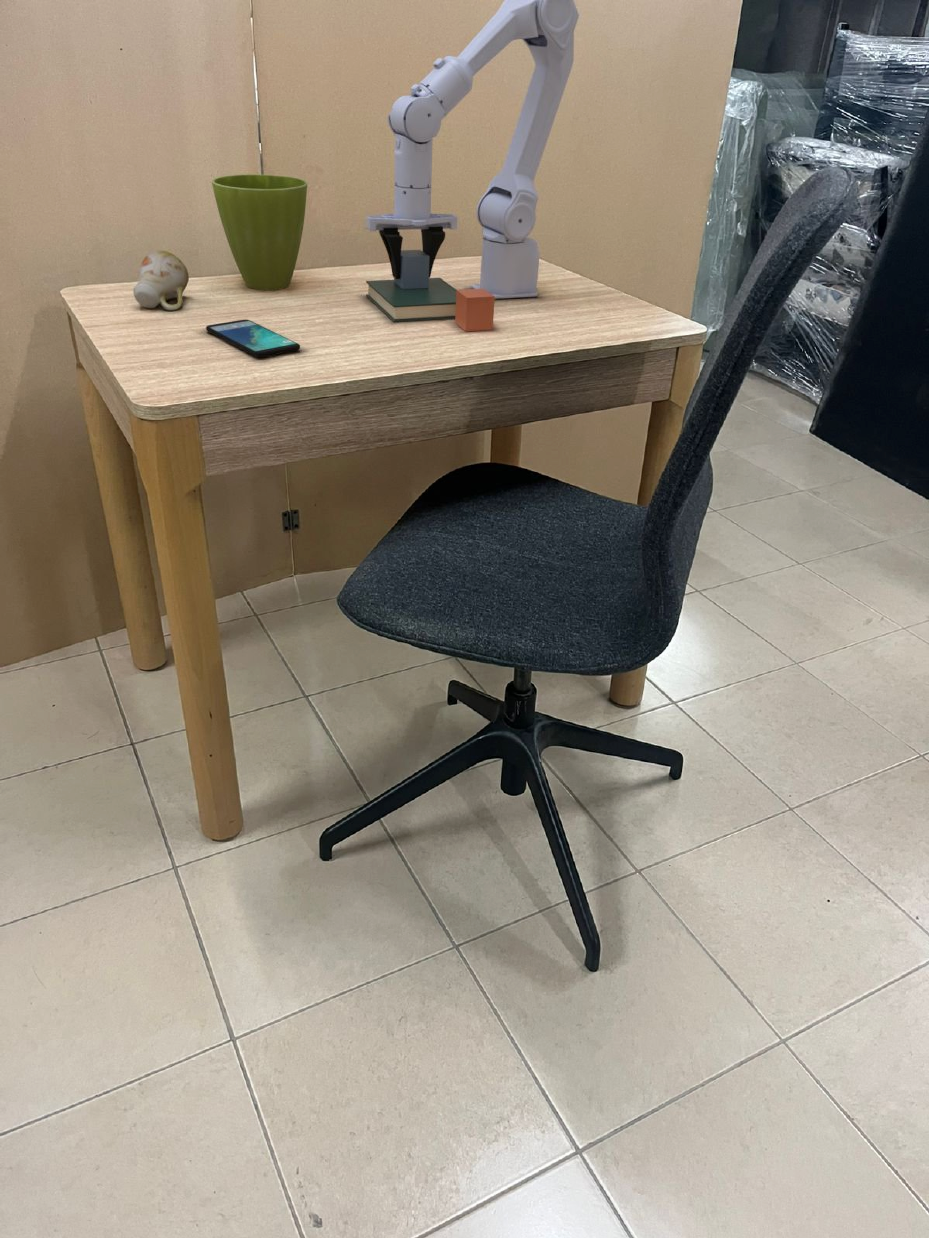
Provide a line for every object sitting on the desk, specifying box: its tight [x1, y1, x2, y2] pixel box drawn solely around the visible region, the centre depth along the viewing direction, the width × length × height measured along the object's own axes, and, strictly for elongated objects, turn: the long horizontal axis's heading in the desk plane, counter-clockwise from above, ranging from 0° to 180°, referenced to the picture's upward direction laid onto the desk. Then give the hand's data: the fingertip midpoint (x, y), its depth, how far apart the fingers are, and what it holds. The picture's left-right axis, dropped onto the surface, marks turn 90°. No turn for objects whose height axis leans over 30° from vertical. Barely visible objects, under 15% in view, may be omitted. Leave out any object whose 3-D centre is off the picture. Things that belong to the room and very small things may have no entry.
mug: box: [132, 250, 190, 311], centre depth 140 cm, size 8×10×10 cm
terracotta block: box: [454, 288, 496, 332], centre depth 138 cm, size 4×4×5 cm
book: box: [365, 277, 457, 323], centre depth 146 cm, size 13×15×2 cm
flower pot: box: [211, 173, 308, 291], centre depth 149 cm, size 15×15×16 cm
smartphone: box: [205, 319, 301, 358], centre depth 127 cm, size 7×1×15 cm
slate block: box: [393, 249, 429, 289], centre depth 147 cm, size 4×4×5 cm
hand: (411, 277), depth 147 cm, fingers closed on slate block, 4 cm apart
